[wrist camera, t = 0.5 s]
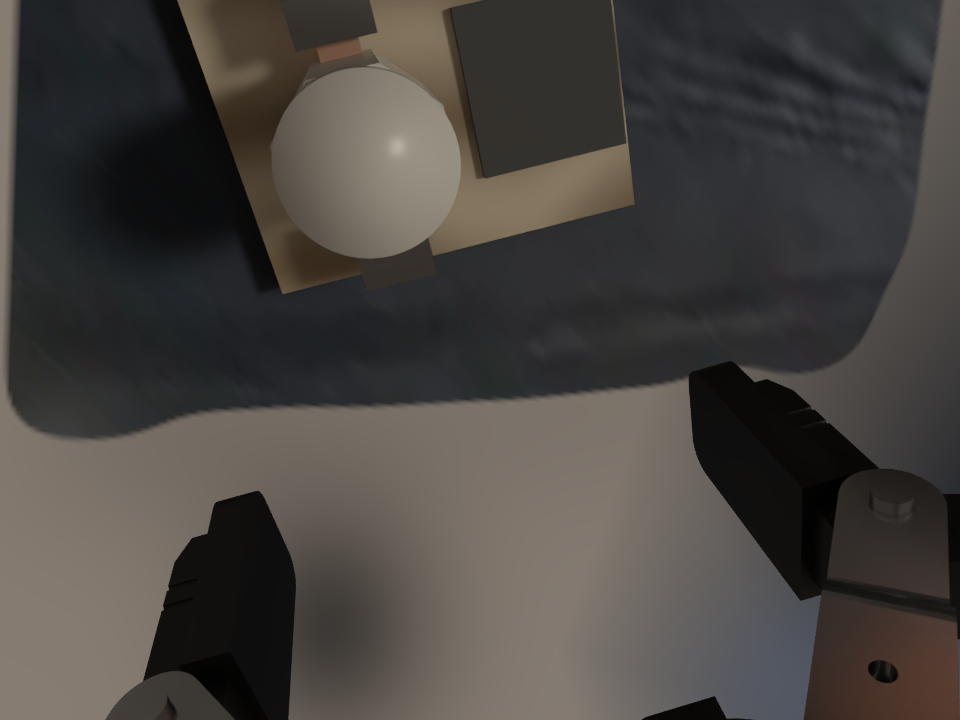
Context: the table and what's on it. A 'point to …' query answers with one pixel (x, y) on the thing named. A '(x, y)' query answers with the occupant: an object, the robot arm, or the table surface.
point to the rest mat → (539, 80)
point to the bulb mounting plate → (425, 56)
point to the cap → (364, 155)
